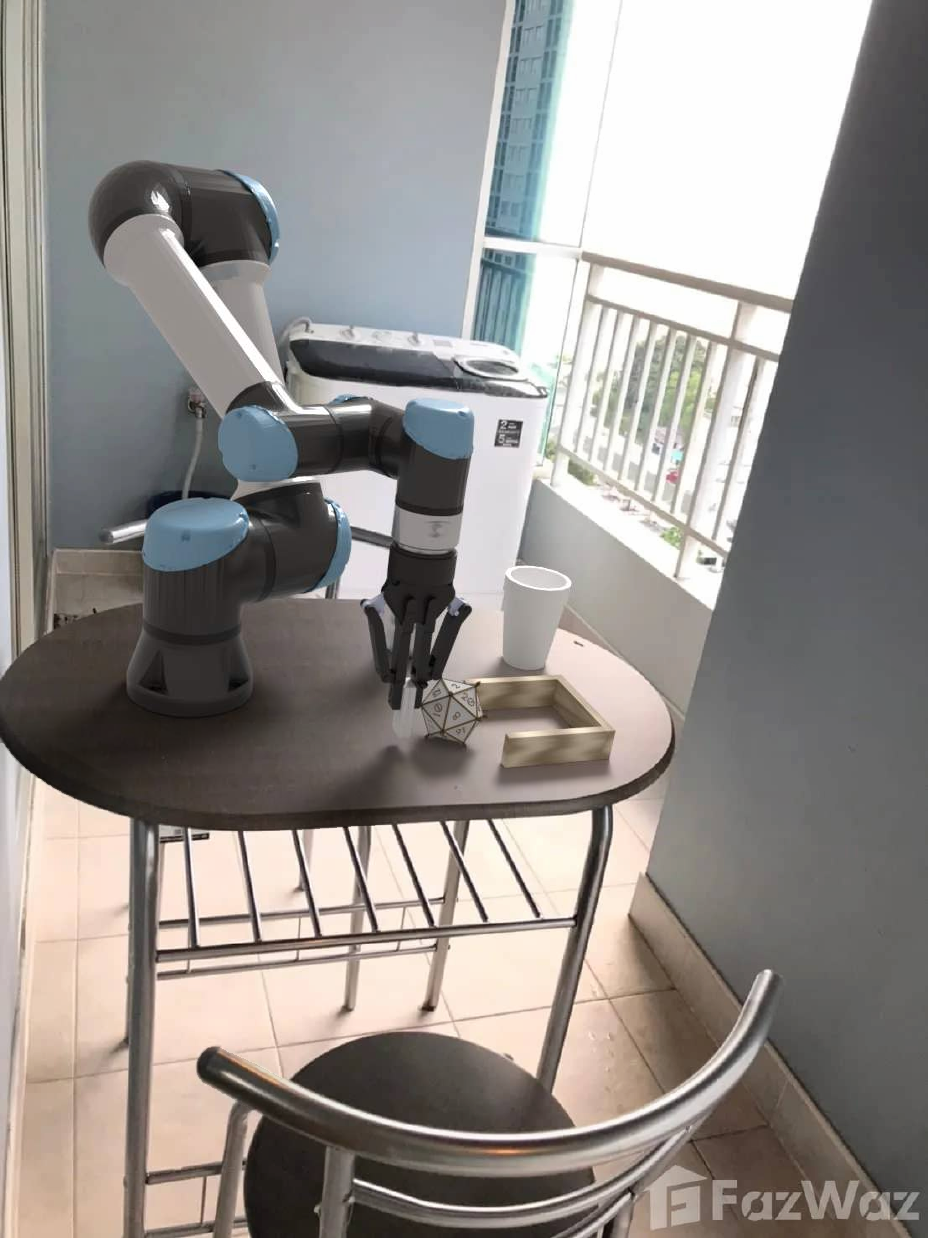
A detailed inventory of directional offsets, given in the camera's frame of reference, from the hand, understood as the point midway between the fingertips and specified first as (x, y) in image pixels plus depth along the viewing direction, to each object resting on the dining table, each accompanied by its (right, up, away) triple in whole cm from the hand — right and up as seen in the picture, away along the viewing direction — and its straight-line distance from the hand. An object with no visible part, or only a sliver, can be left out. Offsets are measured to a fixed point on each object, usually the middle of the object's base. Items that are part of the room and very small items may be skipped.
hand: (401, 731), depth 120 cm
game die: (+5, -1, +3) cm, 7 cm away
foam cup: (+16, +7, +28) cm, 33 cm away
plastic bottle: (-1, +8, +25) cm, 26 cm away
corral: (+16, -1, +8) cm, 17 cm away
